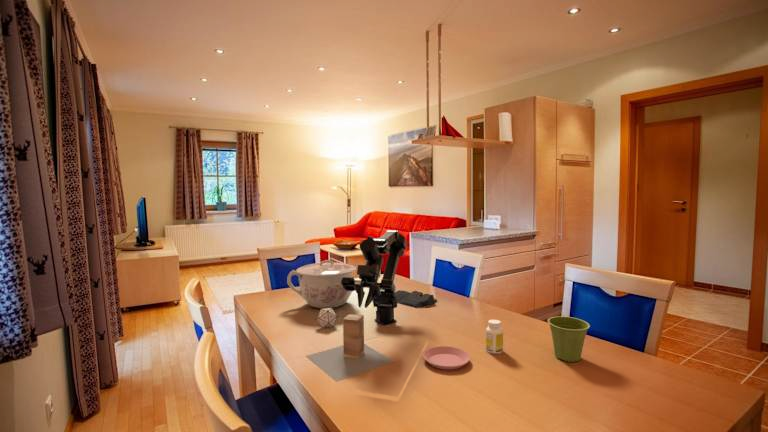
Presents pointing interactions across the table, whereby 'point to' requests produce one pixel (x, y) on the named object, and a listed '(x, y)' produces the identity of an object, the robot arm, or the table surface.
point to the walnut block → (353, 335)
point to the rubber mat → (347, 362)
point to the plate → (446, 357)
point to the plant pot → (568, 337)
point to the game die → (326, 317)
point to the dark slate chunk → (414, 299)
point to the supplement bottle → (494, 337)
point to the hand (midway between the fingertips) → (362, 307)
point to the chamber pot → (323, 283)
